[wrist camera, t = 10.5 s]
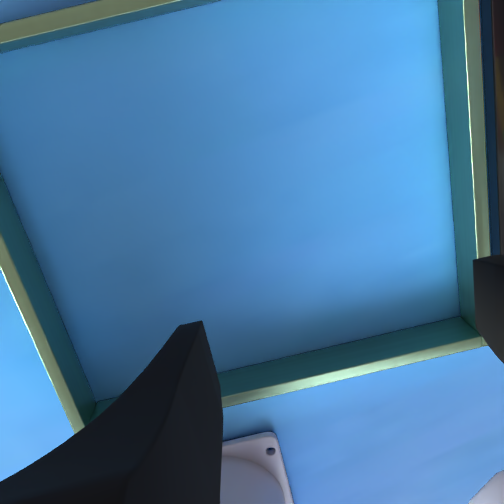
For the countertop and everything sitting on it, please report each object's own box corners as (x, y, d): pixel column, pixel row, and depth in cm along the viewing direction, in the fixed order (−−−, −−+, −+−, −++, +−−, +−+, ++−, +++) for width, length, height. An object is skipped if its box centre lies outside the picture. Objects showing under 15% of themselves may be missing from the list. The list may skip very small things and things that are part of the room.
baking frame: (472, 323, 23) (495, 344, 22) (88, 414, 24) (77, 442, 22) (447, -73, 17) (475, -91, 16) (-67, 50, 18) (-100, 47, 16)
